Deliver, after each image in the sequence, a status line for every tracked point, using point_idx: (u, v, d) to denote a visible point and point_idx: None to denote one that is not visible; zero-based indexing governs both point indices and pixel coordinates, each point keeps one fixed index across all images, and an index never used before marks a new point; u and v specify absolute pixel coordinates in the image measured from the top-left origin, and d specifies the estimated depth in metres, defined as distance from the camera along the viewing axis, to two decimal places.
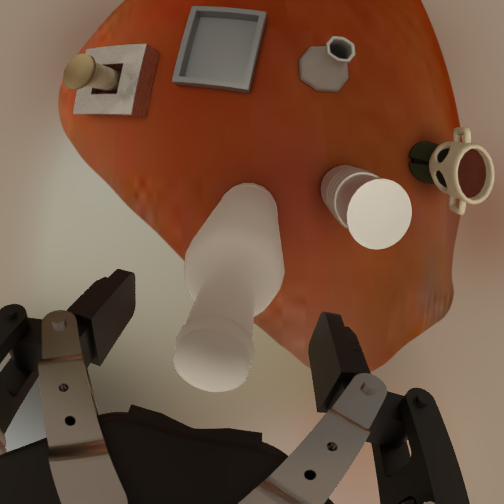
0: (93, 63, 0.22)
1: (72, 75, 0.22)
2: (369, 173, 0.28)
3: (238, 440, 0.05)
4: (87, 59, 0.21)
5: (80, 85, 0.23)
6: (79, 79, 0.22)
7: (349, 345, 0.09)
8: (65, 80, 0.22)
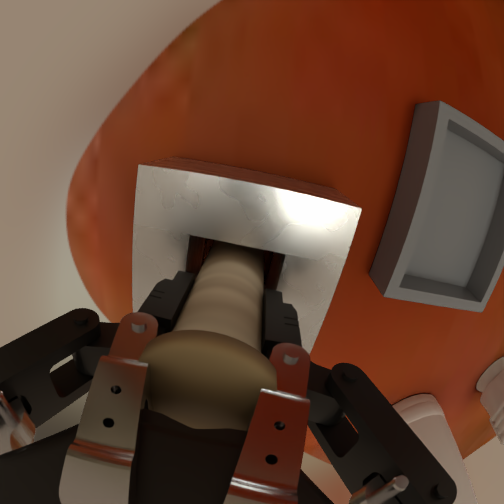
0: None
1: (182, 411, 0.07)
2: None
3: (238, 440, 0.05)
4: (253, 386, 0.07)
5: None
6: None
7: (282, 318, 0.10)
8: None
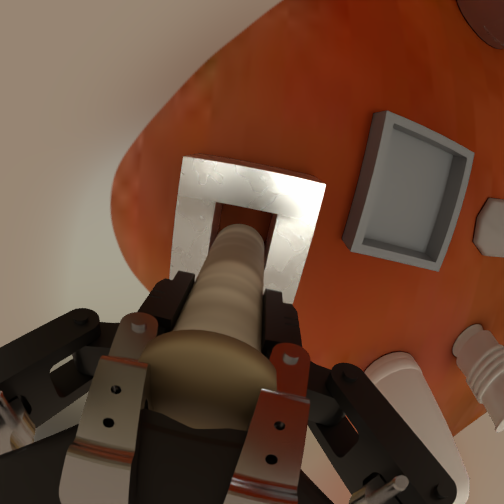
0: None
1: (182, 411, 0.07)
2: None
3: (238, 440, 0.05)
4: (253, 385, 0.07)
5: None
6: (221, 428, 0.07)
7: (282, 318, 0.10)
8: None
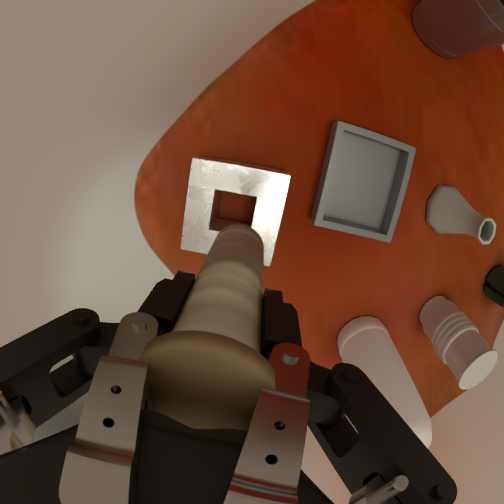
0: None
1: (181, 411, 0.07)
2: (472, 327, 0.29)
3: (238, 440, 0.05)
4: (252, 386, 0.07)
5: None
6: None
7: (282, 318, 0.10)
8: None
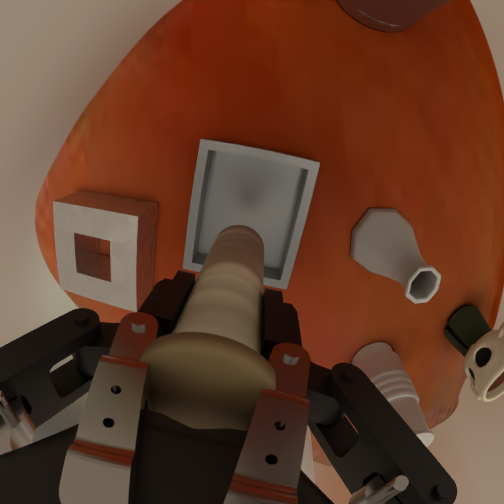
0: None
1: (181, 412, 0.07)
2: (406, 394, 0.24)
3: (238, 440, 0.05)
4: (252, 387, 0.07)
5: None
6: None
7: (282, 318, 0.10)
8: None
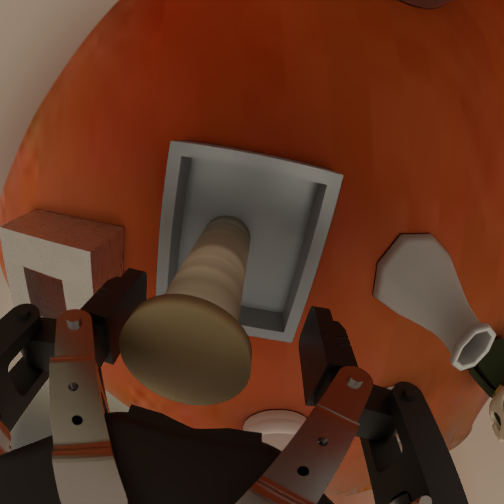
0: (249, 353, 0.08)
1: (165, 371, 0.09)
2: None
3: (238, 440, 0.05)
4: (223, 343, 0.08)
5: (208, 403, 0.09)
6: (199, 389, 0.09)
7: (337, 339, 0.09)
8: (136, 372, 0.09)
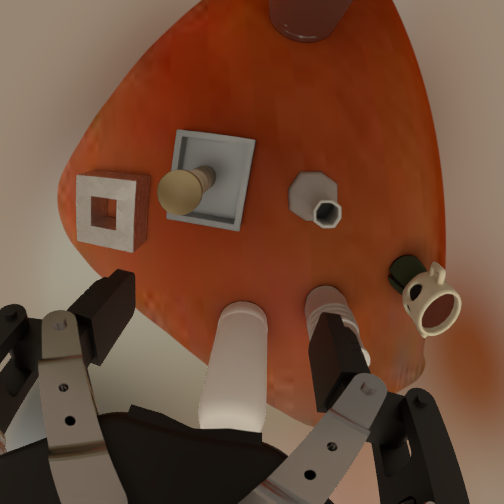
0: (200, 187, 0.26)
1: (172, 197, 0.26)
2: (342, 319, 0.34)
3: (238, 440, 0.05)
4: (192, 181, 0.26)
5: (186, 213, 0.27)
6: (183, 205, 0.27)
7: (349, 345, 0.09)
8: (161, 201, 0.26)
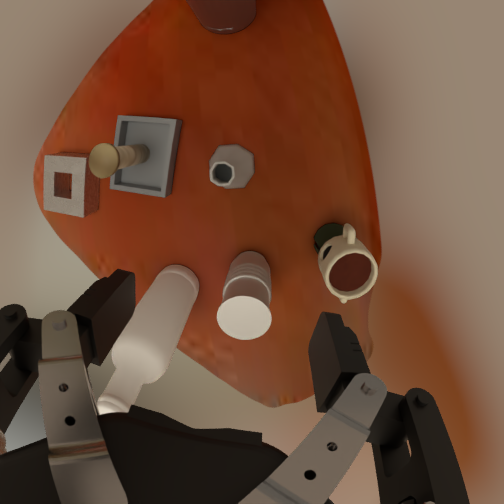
0: (117, 155, 0.30)
1: (98, 164, 0.30)
2: (250, 276, 0.38)
3: (238, 440, 0.05)
4: (111, 151, 0.30)
5: (107, 176, 0.31)
6: (105, 170, 0.31)
7: (349, 345, 0.09)
8: (91, 167, 0.30)
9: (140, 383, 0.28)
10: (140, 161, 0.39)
